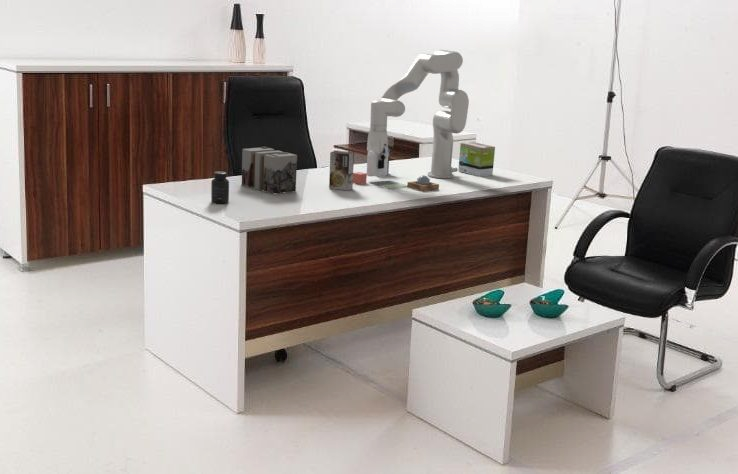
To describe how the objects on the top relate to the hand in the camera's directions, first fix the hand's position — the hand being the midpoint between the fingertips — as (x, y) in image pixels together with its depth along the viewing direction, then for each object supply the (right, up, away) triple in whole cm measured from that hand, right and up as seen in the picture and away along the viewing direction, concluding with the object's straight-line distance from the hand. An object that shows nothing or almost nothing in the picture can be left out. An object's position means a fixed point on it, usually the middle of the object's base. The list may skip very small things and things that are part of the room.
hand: (377, 167), depth 418 cm
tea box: (+49, -1, +36) cm, 61 cm away
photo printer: (0, -4, +1) cm, 4 cm away
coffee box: (-16, -11, -21) cm, 29 cm away
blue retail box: (+1, -2, +20) cm, 20 cm away
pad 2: (+8, -9, -9) cm, 15 cm away
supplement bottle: (-62, -19, -62) cm, 90 cm away
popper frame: (+20, -10, -10) cm, 25 cm away
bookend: (-47, -12, -29) cm, 57 cm away
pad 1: (+3, -8, -4) cm, 9 cm away
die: (-8, -8, -6) cm, 13 cm away
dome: (+20, -10, -11) cm, 25 cm away
